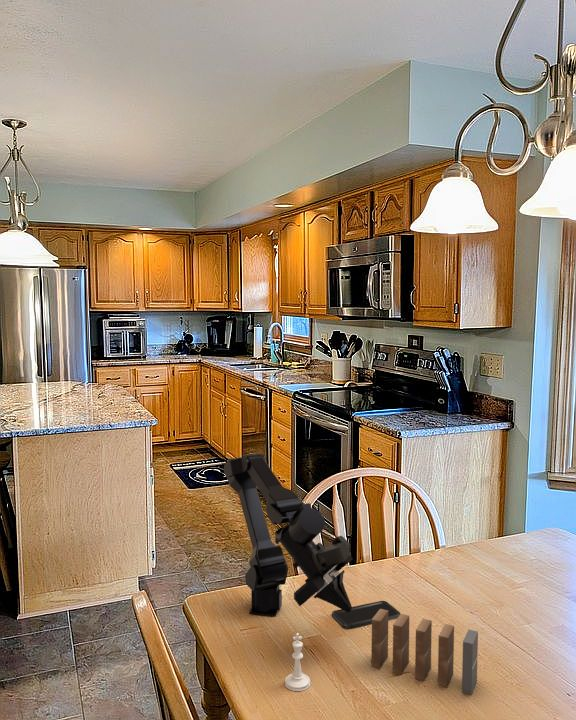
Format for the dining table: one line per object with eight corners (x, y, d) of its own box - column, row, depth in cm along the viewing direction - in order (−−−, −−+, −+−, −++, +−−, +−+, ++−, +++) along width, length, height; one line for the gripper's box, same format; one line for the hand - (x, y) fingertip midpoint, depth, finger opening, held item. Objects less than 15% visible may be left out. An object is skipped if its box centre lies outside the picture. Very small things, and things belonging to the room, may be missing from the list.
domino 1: (371, 666, 125) (371, 619, 124) (379, 654, 129) (380, 608, 128) (380, 669, 124) (380, 621, 123) (388, 657, 128) (388, 610, 127)
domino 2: (392, 673, 123) (393, 624, 122) (400, 660, 127) (400, 613, 126) (401, 675, 122) (402, 626, 121) (409, 662, 126) (409, 615, 125)
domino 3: (414, 679, 121) (415, 629, 120) (421, 666, 125) (422, 618, 124) (424, 681, 120) (425, 632, 119) (431, 668, 124) (431, 620, 123)
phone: (330, 611, 146) (384, 599, 152) (330, 616, 146) (384, 604, 152) (345, 627, 139) (402, 614, 145) (345, 631, 139) (402, 618, 145)
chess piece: (284, 676, 121) (283, 627, 121) (308, 675, 122) (308, 626, 121) (286, 692, 117) (285, 641, 116) (311, 690, 117) (311, 640, 116)
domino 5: (461, 692, 116) (462, 641, 115) (467, 678, 121) (468, 629, 120) (471, 695, 115) (472, 644, 115) (477, 681, 120) (478, 631, 119)
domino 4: (437, 685, 118) (438, 635, 118) (444, 672, 123) (444, 623, 122) (447, 688, 118) (448, 637, 117) (453, 674, 122) (454, 626, 121)
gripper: (307, 542, 122) (359, 609, 117) (344, 515, 138) (391, 572, 134) (272, 573, 126) (321, 639, 122) (312, 543, 142) (357, 600, 138)
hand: (350, 610), depth 129 cm, fingers closed
